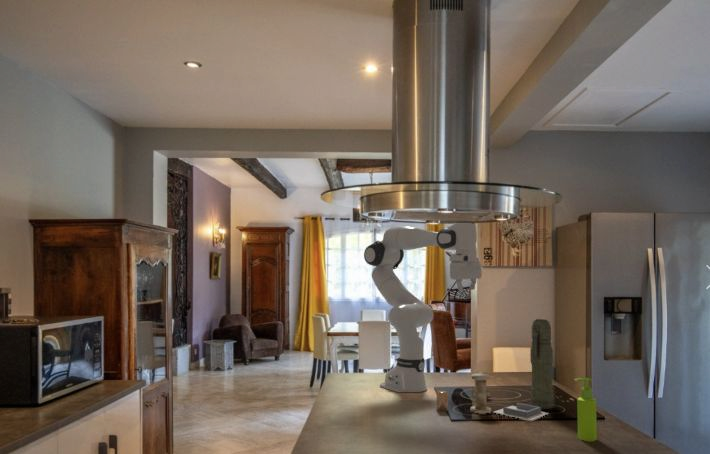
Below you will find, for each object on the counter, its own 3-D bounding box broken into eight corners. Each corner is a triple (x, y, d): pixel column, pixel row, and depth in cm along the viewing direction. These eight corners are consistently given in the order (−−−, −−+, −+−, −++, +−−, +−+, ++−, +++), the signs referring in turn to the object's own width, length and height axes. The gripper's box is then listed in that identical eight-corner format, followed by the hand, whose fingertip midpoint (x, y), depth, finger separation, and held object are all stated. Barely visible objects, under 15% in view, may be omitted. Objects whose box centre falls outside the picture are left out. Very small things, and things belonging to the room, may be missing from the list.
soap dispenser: (571, 436, 200) (571, 376, 201) (591, 435, 200) (590, 376, 201) (579, 441, 194) (578, 380, 195) (600, 441, 194) (599, 380, 195)
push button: (491, 395, 258) (491, 372, 259) (487, 398, 254) (487, 374, 254) (477, 393, 262) (477, 371, 262) (472, 396, 257) (472, 372, 258)
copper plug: (434, 410, 234) (434, 392, 234) (441, 408, 237) (441, 390, 237) (443, 412, 231) (443, 393, 231) (450, 410, 234) (450, 392, 234)
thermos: (526, 407, 238) (525, 320, 240) (536, 401, 248) (535, 318, 249) (548, 411, 233) (547, 321, 235) (557, 405, 242) (556, 319, 244)
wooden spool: (466, 411, 232) (466, 375, 232) (477, 407, 237) (477, 372, 238) (484, 415, 226) (483, 378, 227) (495, 411, 232) (494, 375, 232)
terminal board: (493, 413, 229) (493, 406, 229) (511, 407, 239) (511, 400, 239) (531, 421, 218) (531, 414, 218) (549, 414, 227) (548, 407, 228)
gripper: (472, 257, 261) (472, 288, 260) (447, 257, 246) (447, 290, 245) (485, 257, 257) (485, 289, 256) (460, 257, 242) (460, 291, 241)
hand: (466, 289), depth 251 cm, fingers open, 8 cm apart
